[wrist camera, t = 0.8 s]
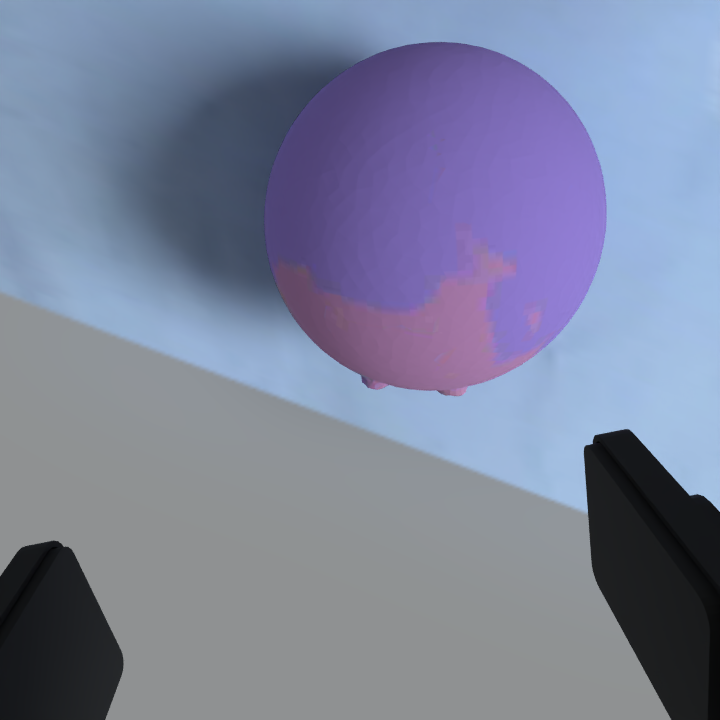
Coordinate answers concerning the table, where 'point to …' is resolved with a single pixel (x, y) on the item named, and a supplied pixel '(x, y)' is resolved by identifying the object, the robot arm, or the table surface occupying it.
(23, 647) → the robot arm
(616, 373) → the table surface
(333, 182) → the decorative ball
